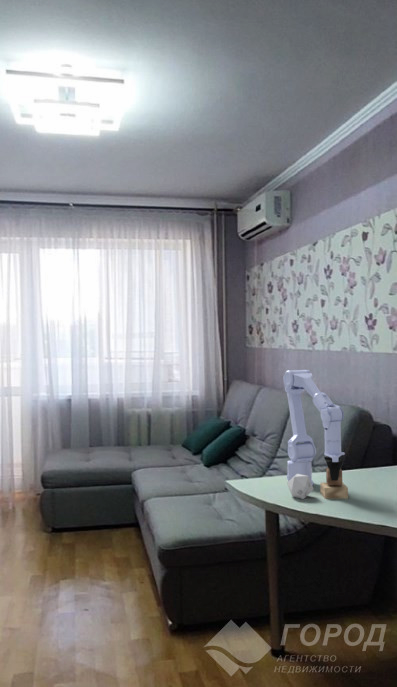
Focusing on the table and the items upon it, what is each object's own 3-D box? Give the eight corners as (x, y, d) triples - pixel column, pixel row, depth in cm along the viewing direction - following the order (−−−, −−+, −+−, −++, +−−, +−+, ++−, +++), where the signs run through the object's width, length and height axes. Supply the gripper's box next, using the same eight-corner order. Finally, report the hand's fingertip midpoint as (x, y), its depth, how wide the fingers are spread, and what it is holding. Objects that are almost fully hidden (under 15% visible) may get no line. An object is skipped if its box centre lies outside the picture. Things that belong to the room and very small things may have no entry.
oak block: (325, 499, 198) (324, 488, 198) (320, 493, 206) (320, 482, 206) (348, 499, 198) (347, 487, 198) (342, 493, 206) (342, 482, 206)
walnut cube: (327, 485, 200) (327, 470, 200) (326, 481, 205) (326, 467, 205) (342, 485, 200) (342, 471, 200) (340, 481, 204) (340, 468, 205)
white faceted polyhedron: (291, 502, 196) (308, 481, 194) (278, 486, 203) (294, 465, 201) (306, 507, 201) (322, 486, 199) (292, 490, 208) (308, 470, 206)
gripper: (347, 443, 195) (348, 483, 195) (341, 437, 209) (342, 474, 209) (326, 443, 196) (327, 483, 195) (322, 437, 210) (322, 473, 210)
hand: (333, 478), depth 202 cm, fingers closed on walnut cube, 5 cm apart
